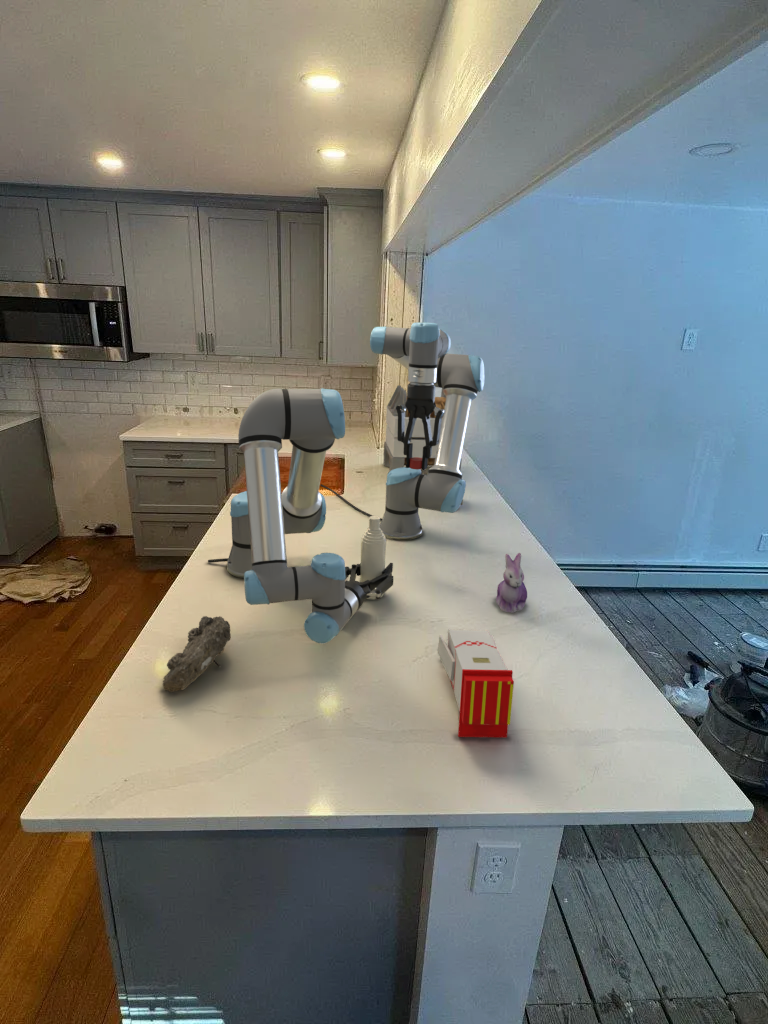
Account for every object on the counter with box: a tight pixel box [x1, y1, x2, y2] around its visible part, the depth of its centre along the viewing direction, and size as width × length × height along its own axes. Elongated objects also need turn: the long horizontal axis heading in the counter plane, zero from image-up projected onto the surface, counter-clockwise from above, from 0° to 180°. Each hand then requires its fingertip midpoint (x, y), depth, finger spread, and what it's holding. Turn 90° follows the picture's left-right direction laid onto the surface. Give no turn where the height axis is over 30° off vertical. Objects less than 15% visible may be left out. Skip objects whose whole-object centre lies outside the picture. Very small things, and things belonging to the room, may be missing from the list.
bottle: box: [359, 515, 387, 600], centre depth 154 cm, size 7×7×23 cm
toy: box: [437, 628, 515, 738], centre depth 117 cm, size 12×13×30 cm
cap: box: [409, 457, 422, 470], centre depth 159 cm, size 4×4×2 cm
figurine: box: [495, 552, 528, 614], centre depth 152 cm, size 9×10×15 cm
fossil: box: [162, 615, 232, 693], centre depth 122 cm, size 22×10×15 cm
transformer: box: [383, 384, 463, 473], centre depth 268 cm, size 34×33×41 cm
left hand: (379, 564), depth 160 cm, fingers closed on bottle, 7 cm apart
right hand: (416, 467), depth 159 cm, fingers closed on cap, 4 cm apart
